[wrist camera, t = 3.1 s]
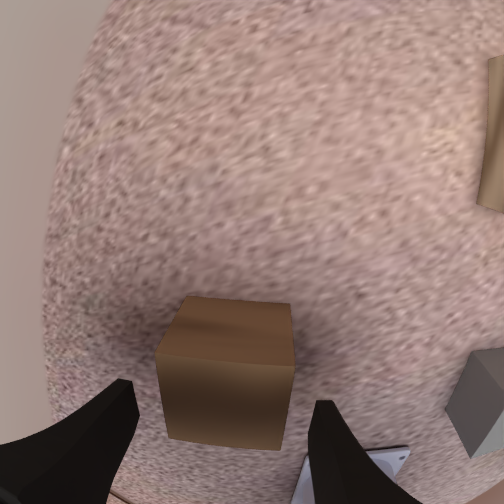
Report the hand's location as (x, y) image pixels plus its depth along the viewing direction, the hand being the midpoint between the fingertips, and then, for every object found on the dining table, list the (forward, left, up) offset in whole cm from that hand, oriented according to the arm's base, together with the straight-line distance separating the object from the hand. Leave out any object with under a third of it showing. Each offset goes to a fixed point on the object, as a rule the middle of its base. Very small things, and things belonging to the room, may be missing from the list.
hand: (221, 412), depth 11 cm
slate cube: (-3, -17, -5) cm, 18 cm away
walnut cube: (0, 0, -5) cm, 5 cm away
